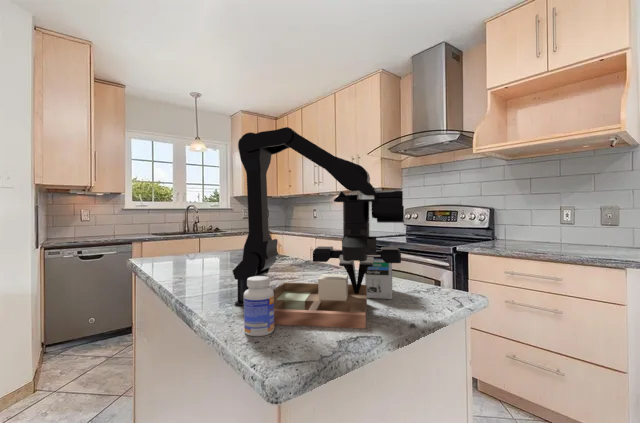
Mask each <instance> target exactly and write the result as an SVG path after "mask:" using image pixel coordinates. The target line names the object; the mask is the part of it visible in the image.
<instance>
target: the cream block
mask: <svg viewBox="0 0 640 423" xmlns="http://www.w3.org/2000/svg"><path fill="white" fill-rule="evenodd" d="M317 283H318V300H335V301H346V300H347V297H348V284H349V275H348V274H336V273H335V274H332V273H331V274H330V273H328V274H327V273H325V274H324V273H322V274H321V275H320V277H318V281H317Z"/></svg>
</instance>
